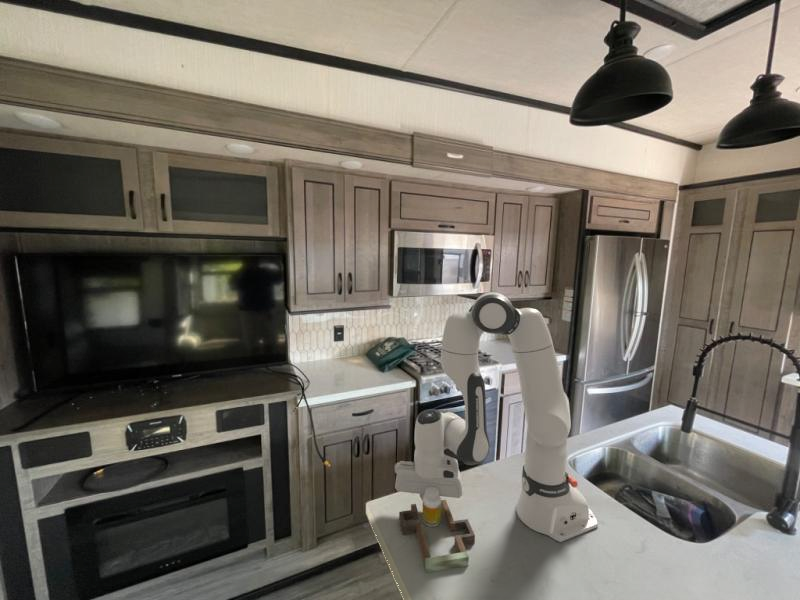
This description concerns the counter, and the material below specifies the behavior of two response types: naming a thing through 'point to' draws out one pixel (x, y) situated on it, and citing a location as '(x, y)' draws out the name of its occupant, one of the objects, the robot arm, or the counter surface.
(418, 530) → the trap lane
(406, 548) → the counter surface
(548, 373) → the robot arm
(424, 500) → the supplement bottle
